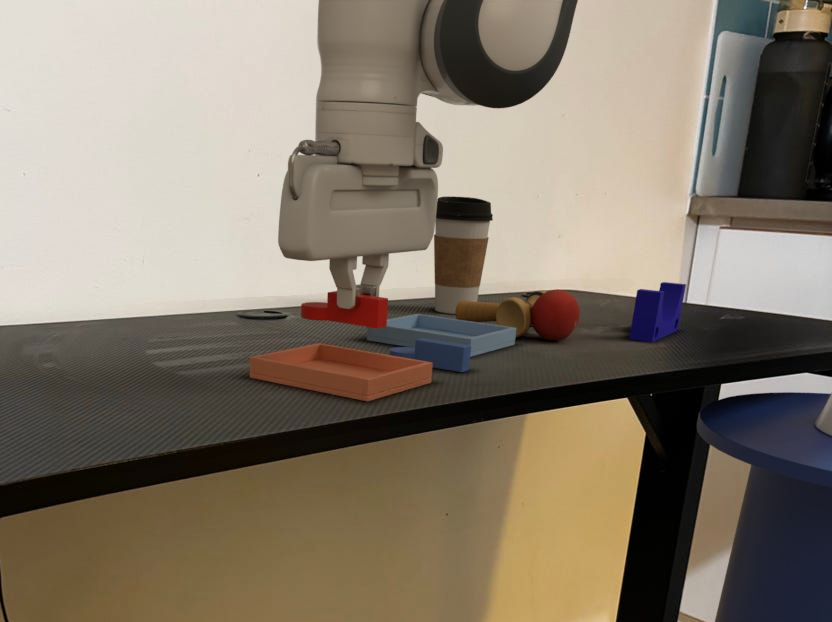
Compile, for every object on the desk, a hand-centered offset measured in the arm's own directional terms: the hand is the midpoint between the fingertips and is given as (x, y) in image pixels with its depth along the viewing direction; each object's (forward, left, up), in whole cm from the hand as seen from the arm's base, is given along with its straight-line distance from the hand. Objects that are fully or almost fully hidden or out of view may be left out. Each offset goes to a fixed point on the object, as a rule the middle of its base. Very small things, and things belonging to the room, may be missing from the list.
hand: (357, 306), depth 91 cm
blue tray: (+6, -26, -7) cm, 27 cm away
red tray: (+2, 0, -7) cm, 7 cm away
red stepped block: (+2, 0, -2) cm, 2 cm away
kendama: (+3, -39, -7) cm, 40 cm away
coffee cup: (+18, -50, -7) cm, 53 cm away
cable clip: (-10, -53, -7) cm, 54 cm away
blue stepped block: (0, -13, -7) cm, 15 cm away
